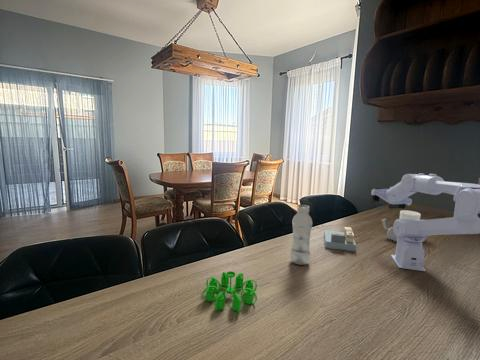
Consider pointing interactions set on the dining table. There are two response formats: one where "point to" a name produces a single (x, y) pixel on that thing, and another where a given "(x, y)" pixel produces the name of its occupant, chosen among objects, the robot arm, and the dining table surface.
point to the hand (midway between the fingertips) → (380, 203)
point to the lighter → (389, 231)
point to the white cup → (409, 215)
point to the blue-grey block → (337, 241)
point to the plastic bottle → (301, 236)
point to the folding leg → (349, 234)
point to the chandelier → (230, 291)
